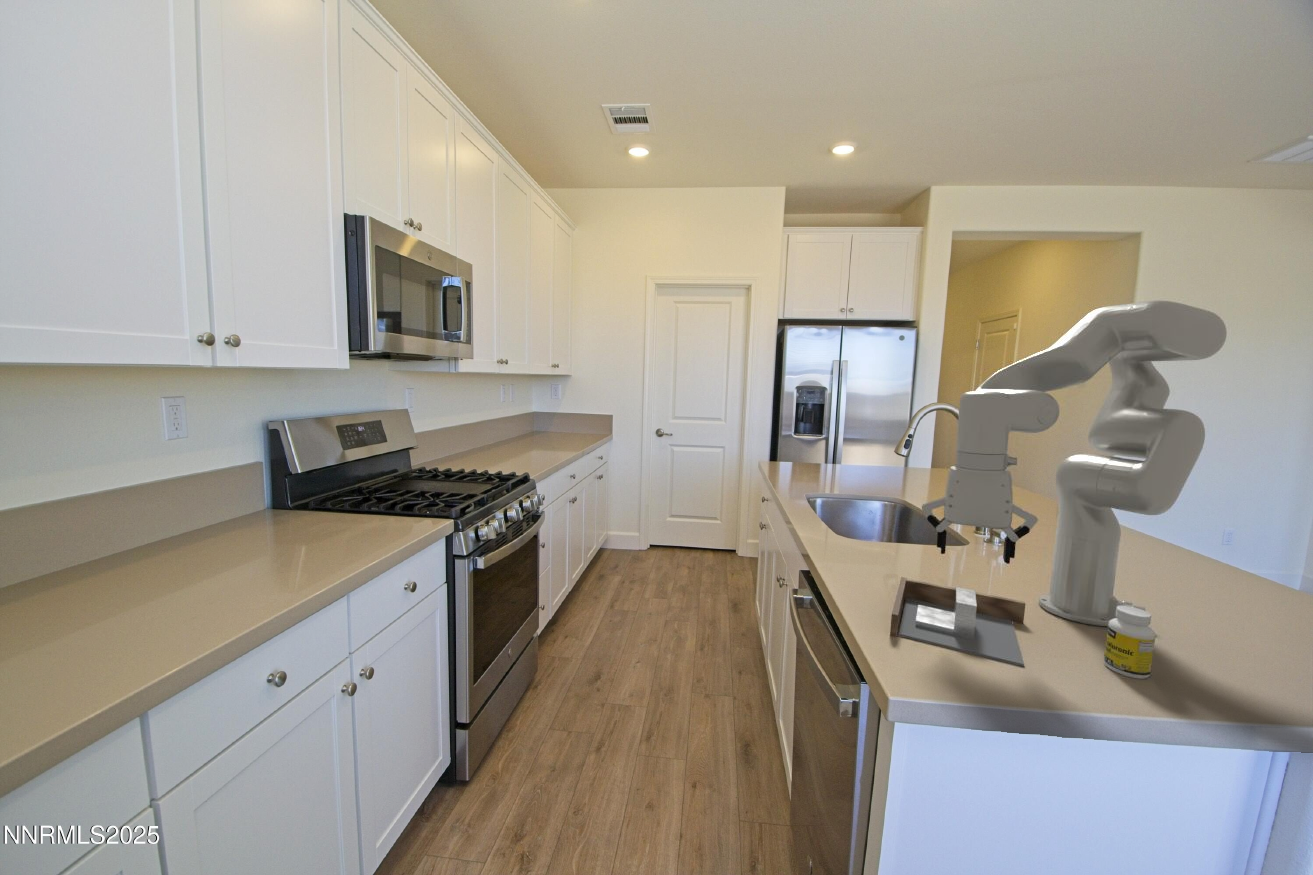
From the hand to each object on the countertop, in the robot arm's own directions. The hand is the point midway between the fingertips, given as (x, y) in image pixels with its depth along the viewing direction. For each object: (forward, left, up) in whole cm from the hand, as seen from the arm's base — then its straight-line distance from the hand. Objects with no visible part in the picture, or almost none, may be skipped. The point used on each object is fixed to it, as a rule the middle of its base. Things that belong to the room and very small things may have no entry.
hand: (973, 556), depth 90 cm
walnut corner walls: (+2, +1, -14) cm, 14 cm away
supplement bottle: (-22, +2, -14) cm, 26 cm away
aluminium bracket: (+4, +1, -13) cm, 14 cm away
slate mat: (+2, +1, -14) cm, 14 cm away
